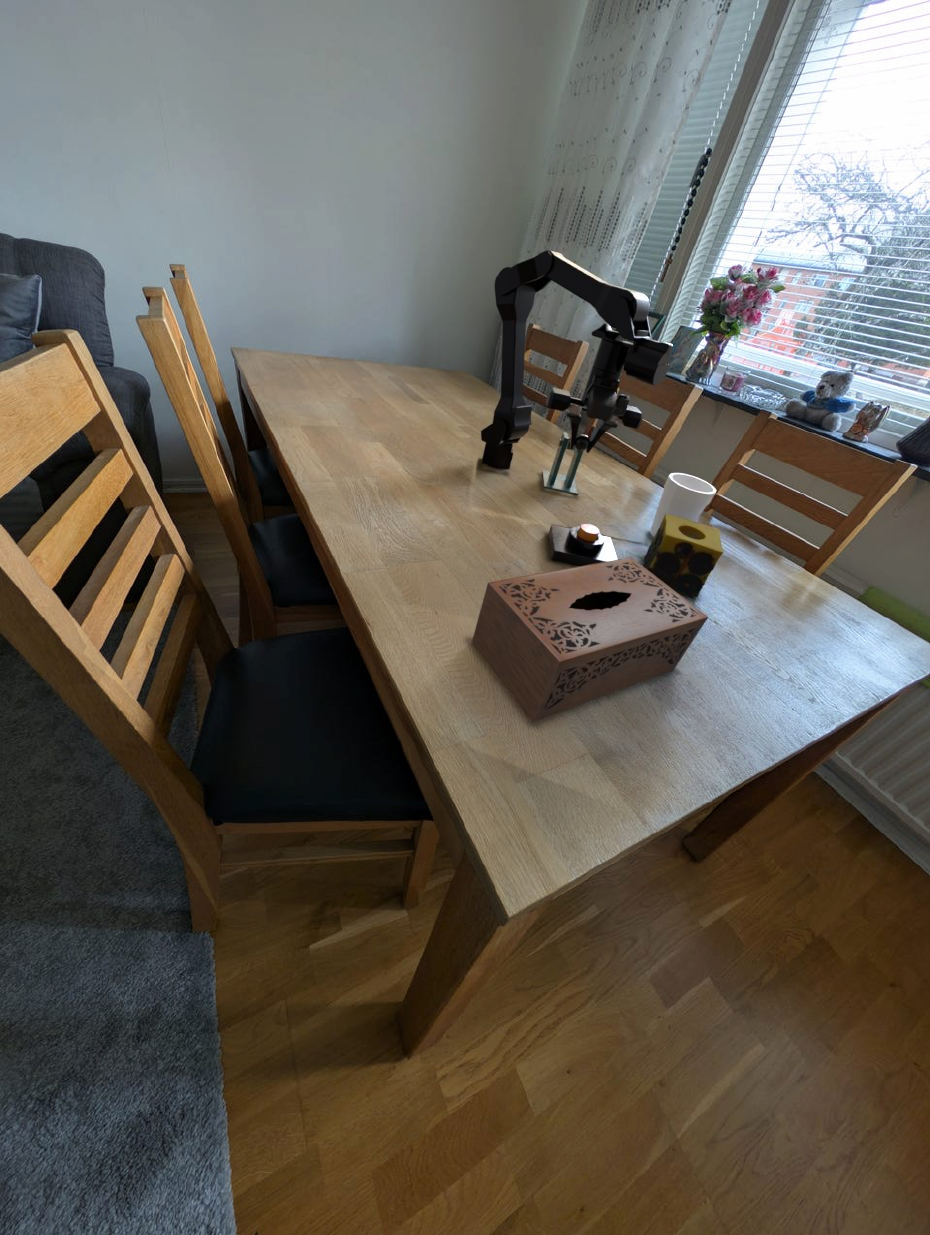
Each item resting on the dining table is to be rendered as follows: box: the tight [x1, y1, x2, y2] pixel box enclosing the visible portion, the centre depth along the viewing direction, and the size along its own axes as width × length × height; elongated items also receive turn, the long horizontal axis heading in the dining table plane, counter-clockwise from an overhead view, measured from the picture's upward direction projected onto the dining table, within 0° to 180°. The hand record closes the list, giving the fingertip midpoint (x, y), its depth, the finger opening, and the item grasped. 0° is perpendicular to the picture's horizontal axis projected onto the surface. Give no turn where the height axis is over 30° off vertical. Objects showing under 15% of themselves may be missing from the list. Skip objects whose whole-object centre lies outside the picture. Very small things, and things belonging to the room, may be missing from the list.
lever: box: [565, 433, 590, 453], centre depth 104 cm, size 13×3×3 cm, turn 175°
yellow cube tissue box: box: [642, 514, 724, 599], centre depth 87 cm, size 10×10×10 cm
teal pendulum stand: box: [541, 431, 585, 496], centre depth 111 cm, size 10×8×12 cm
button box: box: [547, 524, 619, 567], centre depth 90 cm, size 12×10×4 cm
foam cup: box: [649, 472, 717, 538], centre depth 99 cm, size 10×9×13 cm
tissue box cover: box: [471, 557, 709, 723], centre depth 64 cm, size 26×14×10 cm, turn 120°
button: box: [577, 523, 601, 541], centre depth 88 cm, size 4×4×2 cm
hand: (579, 450), depth 100 cm, fingers closed on lever, 3 cm apart
